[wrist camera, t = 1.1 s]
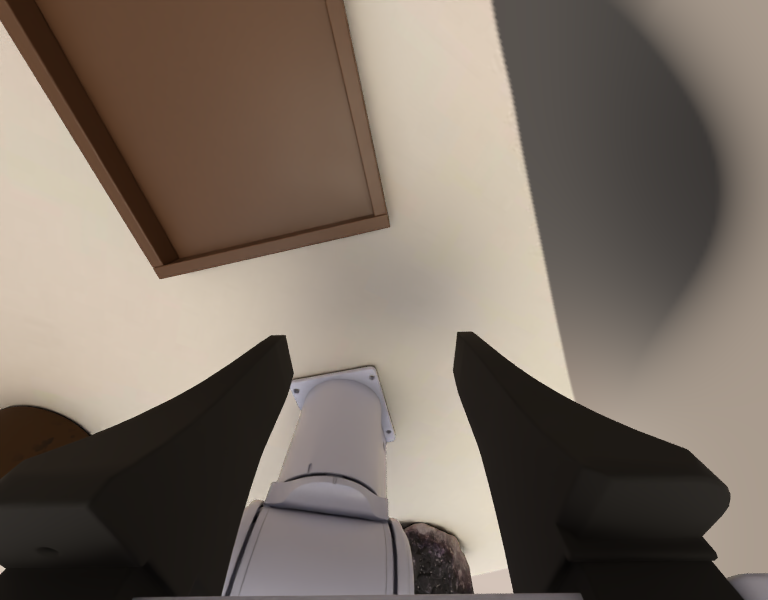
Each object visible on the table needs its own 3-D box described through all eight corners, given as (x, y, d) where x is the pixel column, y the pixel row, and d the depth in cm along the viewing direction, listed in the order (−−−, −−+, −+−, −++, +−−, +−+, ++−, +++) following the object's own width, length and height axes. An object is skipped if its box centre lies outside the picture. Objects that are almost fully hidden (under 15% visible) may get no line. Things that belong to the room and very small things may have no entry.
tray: (389, 220, 19) (390, 227, 16) (183, 268, 20) (159, 279, 18) (292, -244, 11) (270, -347, 9) (-33, -114, 12) (-122, -175, 10)
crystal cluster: (352, 523, 36) (337, 642, 28) (454, 515, 33) (472, 646, 25) (384, 559, 42) (379, 666, 34) (471, 556, 40) (490, 670, 31)
